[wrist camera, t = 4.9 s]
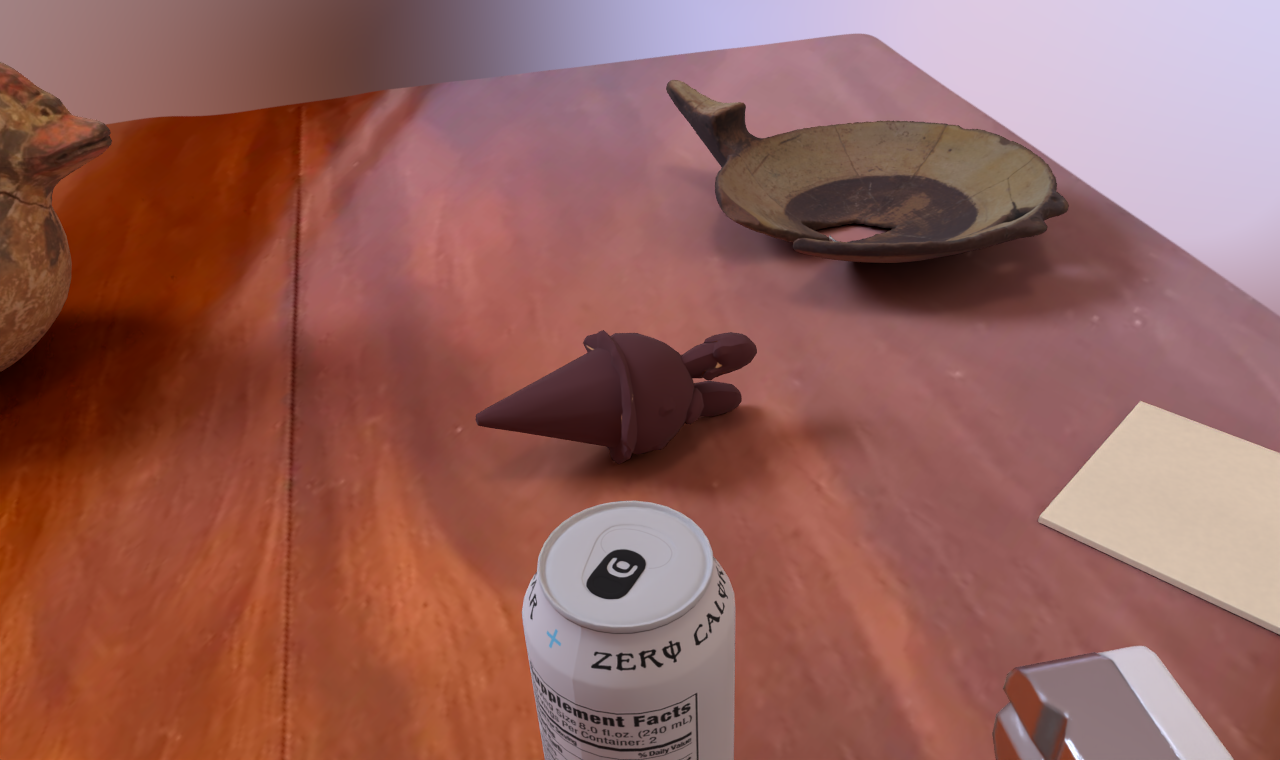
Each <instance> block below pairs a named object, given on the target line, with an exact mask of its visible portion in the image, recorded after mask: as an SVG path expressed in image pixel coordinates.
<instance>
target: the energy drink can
mask: <svg viewBox="0 0 1280 760" xmlns="http://www.w3.org/2000/svg"><path fill="white" fill-rule="evenodd" d="M522 618H523V626H524V633H525V639H526V645H527V652H528V658H529V664H530V670H531V676H532V683H533V689H534V695H535V701H536V707H537V713H538V720H539V726H540V732H541V738H542V744H543V751H544V757H545V760H734V686H735V599H734V592H733V589H732V586H731V583H730V580H729V578H728V576H727V575H726V573H725V572H724V570H723V568H722V567H721V565H720V564H719V562H718V561H717V560H716V559H715V558H714V557H713V552H712V549H711V546H710V543H709V540H708V539H707V537H706V536H705V534H704V533H703V531H702V530H701V529H700V528H699V527H698V526H697V525H696V524H695V523H694V522H693V521H692V520H691V519H689V518H688V517H686V516H685V515H683V514H682V513H680V512H678V511H676V510H673V509H671V508H669V507H666V506H662V505H658V504H655V503H650V502H641V501H618V502H611V503H605V504H601V505H598V506H594V507H591V508H588V509H586V510H584V511H581V512H579V513H577V514H575V515H573V516H572V517H570V518H569V519H567V520H566V521H564V522H563V523H561V524H560V525H559V526H558V527H557V528H556V529H555V530H554V531H553V532H552V533H551V535H550V536H549V537H548V539H547V540H546V542H545V543H544V545H543V547H542V550H541V552H540V555H539V559H538V567H537V572H536V574H535V575H534V577H533V578H532V580H531V582H530V584H529V587H528V589H527V592H526V594H525V597H524V602H523V609H522Z"/></svg>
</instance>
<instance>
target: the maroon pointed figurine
mask: <svg viewBox="0 0 1280 760" xmlns="http://www.w3.org/2000/svg"><path fill="white" fill-rule="evenodd" d="M583 344H584V346H585V348H586V350H587V352H588V353H587V354H585V355H583V356H581V357H579V358H577V359H576V360H574V361H572V362H570V363H568V364H567V365H565V366H563V367H561V368H559V369H557V370H556V371H554V372H552V373H550V374H548V375H547V376H545V377H543V378H541V379H539V380H537V381H536V382H534V383H532V384H530V385H528V386H527V387H525V388H523V389H521V390H519V391H517V392H516V393H514V394H512V395H510V396H508V397H506V398H505V399H503V400H501V401H499V402H497V403H495V404H494V405H492V406H490V407H488V408H486V409H485V410H483V411H481V412H480V413H478V414H476V422H477V424H478V426H483V427H489V428H495V429H502V430H509V431H516V432H522V433H529V434H535V435H541V436H547V437H553V438H559V439H565V440H571V441H577V442H583V443H589V444H596V445H602V446H607V447H608V448H609V451H610V455H611V457H612V459H613V460H614V461H615V462H616V463H617V464H621V463H623V462H624V461H626V460H628V459H630V457H631V455H632V453H635V454H642V453H646V452H649V451H653V450H661V449H662V448H663V447H664V446H666V445H667V442H668V441H670V440H671V439H672V438H673V437H674V436H675V435H676V434H677V432H678V431H679V430H680V428H681V427H682V426H683V424H684V423H685V422H686V424H691V423H693V422H694V421H696V420H697V419H699V417H700V416H702V417H711V416H715V415H718V414H722V413H726V412H730V411H732V410H733V409H735V408H736V407H738V406H739V404H740V402H741V394H740V392H739V390H738V389H737V388H736V387H735V386H733V385H732V384H727V383H721V382H714V381H705V382H699V383H693V380H692V378H704V379H706V380H712V379H713V378H715V377H718V376H720V375H723V374H726V373H730V372H732V371H735V370H738V369H740V368H742V367H744V366H745V365H747V364H749V363H750V362H751V361H752V359H753V358H754V356H755V355H756V353H757V349H756V346H755V344H754V343H753V342H752V341H751V340H750V339H749V338H748V337H747V336H745V335H743V334H739V333H732V332H730V333H724V334H718V335H714V336H712V337H709V338H707V339H706V340H705V341H704V343H703V344H700V345H697V346H695V347H693V348H692V349H690V350H689V351H687V352H686V353H684V354H683V355H680V354H679V353H678V352H677V351H675V350H674V349H673V348H671V347H670V346H668V345H667V344H665V343H663V342H661V341H659V340H657V339H654V338H651V337H648V336H644V335H641V334H638V333H615V334H613V335H612V336H609V335H608V334H607V333H606V332H605V331H604V330H603V331H600V332H599V333H597V334H593V335H590V336H587V337H586V338H585V340H584V342H583Z"/></svg>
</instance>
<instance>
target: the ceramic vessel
mask: <svg viewBox="0 0 1280 760" xmlns="http://www.w3.org/2000/svg"><path fill="white" fill-rule="evenodd" d="M109 135H110V130H109V128H108V127H107V126H106V125H105V124H104V123H102V122H100V121H97V120H93V119H87V118H82V117H77V116H73V115H71V113H70V112H69V111H68V110H67V109H66V107H65V106H64V105H63V104H62V102H61V101H60V99H58V98H57V97H55V96H53V95H52V94H50V93H48V92H46V91H44V90H42V89H40V88H39V87H37V86H36V85H34V84H33V83H32V82H31V81H30V80H28V79H27V78H26V77H24V76H23V75H22V74H20V73H19V72H18V71H16V70H15V69H13V68H11V67H10V66H8V65H6V64H4V63H1V62H0V372H1V371H3V370H5V369H6V368H8V367H10V366H11V365H13V364H14V363H15V362H17V361H18V360H19V359H21V358H22V357H23V356H24V355H25V354H26V353H27V352H28V351H29V350H30V349H32V348H33V347H34V346H35V345H36V343H37V342H38V341H39V340H40V339H41V338H42V337H43V336H44V334H45V333H46V332H47V331H48V329H49V328H50V327H51V325H52V324H53V322H54V321H55V319H56V318H57V316H58V315H59V313H60V311H61V309H62V307H63V305H64V303H65V301H66V299H67V296H68V291H69V287H70V281H71V256H70V250H69V246H68V242H67V237H66V234H65V232H64V229H63V227H62V225H61V223H60V220H59V218H58V216H57V214H56V213H55V211H54V209H53V207H52V193H53V189H54V187H55V186H56V184H57V183H58V182H59V181H60V180H61V179H63V178H64V177H66V176H67V175H69V174H70V173H72V172H73V171H75V170H76V169H78V168H80V167H81V166H83V165H85V164H86V163H88V162H89V161H91V160H93V159H94V158H96V157H97V156H99V155H101V154H102V153H103V152H104V151H105V150H106V149H107V148H108V147H109V146H110V145H111V142H112V140H111V138H110V136H109Z"/></svg>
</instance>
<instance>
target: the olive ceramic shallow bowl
mask: <svg viewBox="0 0 1280 760" xmlns="http://www.w3.org/2000/svg"><path fill="white" fill-rule="evenodd" d="M666 90H667V93H668V94H669V96H670V97H671V99H672V101H673V102H674V104H675V105H676V107H677V108H678V109H679V111H680V112H681V113H682V114H683V115H684V117H685V118H686V120H687V121H688V122H689V123H690V124H691V126H692V127H693V129H694V130H695V131H696V133H697V134H698V136H699V137H700V139H701V140H702V141H703V142H704V144H705V145H706V146H707V148H708V149H709V151H710V152H711V153H712V155H713V156H714V157H715V159H716V160H717V161H718V163H719V164H720V165H721V167H722V168H721V170H720V171H719V172H718V175H717V177H716V182H715V193H716V198H717V201H718V204H719V206H720V207H721V209H722V211H723V212H724V213H725V214H726V215H727V216H728V217H729V218H730V219H732V220H733V221H735V222H736V223H739V224H741V225H743V226H745V227H747V228H749V229H751V230H754V231H756V232H760V233H764V234H766V235H769V236H772V237H775V238H779V239H783V240H785V241H787V242H793V248H794V250H796V251H798V252H800V253H803V254H807V255H811V256H816V257H821V258H827V259H834V260H843V261H854V262H872V263H899V262H912V261H920V260H926V259H932V258H938V257H944V256H949V255H954V254H959V253H964V252H968V251H973V250H977V249H981V248H985V247H989V246H992V245H995V244H999V243H1003V242H1006V241H1010V240H1013V239H1018V238H1024V237H1032V236H1035V235H1039V234H1042V233H1044V232H1045V231H1046V230H1047V225H1046V224H1045V222H1044V220H1046V219H1049V218H1051V217H1055V216H1059V215H1061V214H1064V213H1065V212H1067V210H1068V207H1069V205H1068V203H1067V201H1066V200H1065V199H1064V198H1063V196H1061V195H1060V194H1059V193H1057V192H1056V186H1057V183H1056V179H1055V176H1054V175H1053V173H1052V170H1051V169H1050V167H1049V166H1048V164H1046V163H1045V161H1044V160H1043V159H1041V158H1040V157H1038V156H1037V155H1036V154H1034V153H1033V152H1032V151H1031V150H1029V149H1027V148H1026V147H1024V146H1022V145H1020V144H1018V143H1016V142H1014V141H1009V140H1008V139H1006V138H1004V137H1002V136H1000V135H997V134H993V133H991V132H987V131H985V130H979V129H963V128H962V127H960V126H959V125H958V126H956V125H948V124H939V123H925V122H913V121H910V122H908V121H877V122H862V123H859V122H857V123H853V124H852V123H847V124H837V125H829V126H817V127H811V128H803V129H798V130H794V131H791V132H787V133H783V134H778V135H775V136H772V137H768V138H763V139H761V138H757V137H755V136H753V135H751V134H750V133H749V132H748V131H747V128H746V125H745V108H746V106H745V104H744V103H741V102H738V103H721V102H717V101H714V100H711V99H710V98H708V97H706V96H704V95H702V94H700V93H699V92H697V91H696V90H695V89H693V88H691V87H690V86H688V85H687V84H685V83H684V82H681V81H678V80H671V81H670V82H668V84H667V87H666ZM852 223H857V224H865V225H869V226H878V227H883V228H892V229H891V230H890V231H888V232H885V233H881V234H875V235H874V236H873V237H869V238H866V239H862V240H856V241H851V242H847V243H846V242H838V241H836V240H834V239H833V238H832V237H831V236H829V237H827V236H826V235H823V234H820V233H819V232H817V231H814V230H817V229H821V228H827V227H833V226H840V225H843V224H852ZM829 239H831V240H833V241H834V242H832V241H830V240H829Z"/></svg>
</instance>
